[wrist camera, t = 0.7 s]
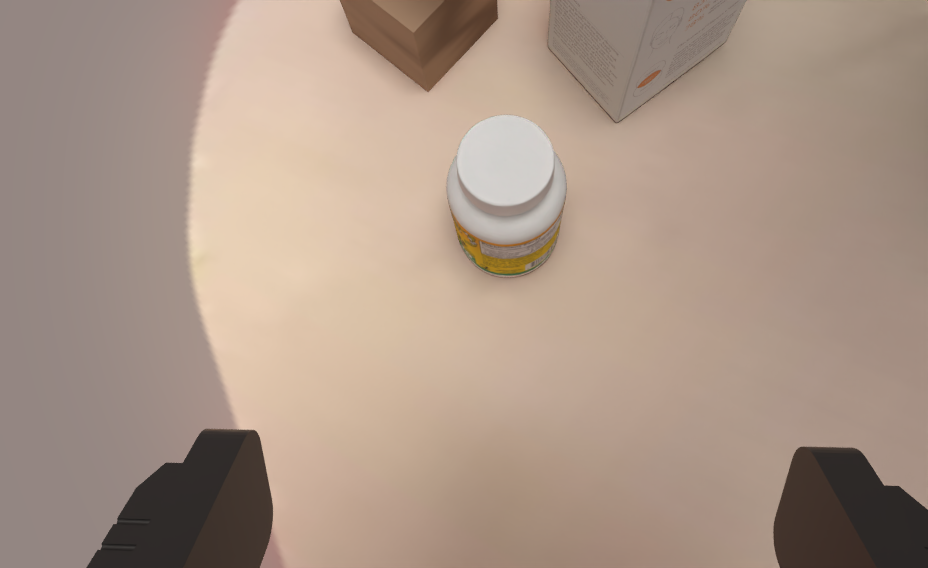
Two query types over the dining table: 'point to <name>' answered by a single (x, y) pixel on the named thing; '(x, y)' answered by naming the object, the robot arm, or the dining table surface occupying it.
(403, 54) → the walnut cube
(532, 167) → the supplement bottle
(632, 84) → the small box
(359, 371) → the dining table surface
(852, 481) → the robot arm
